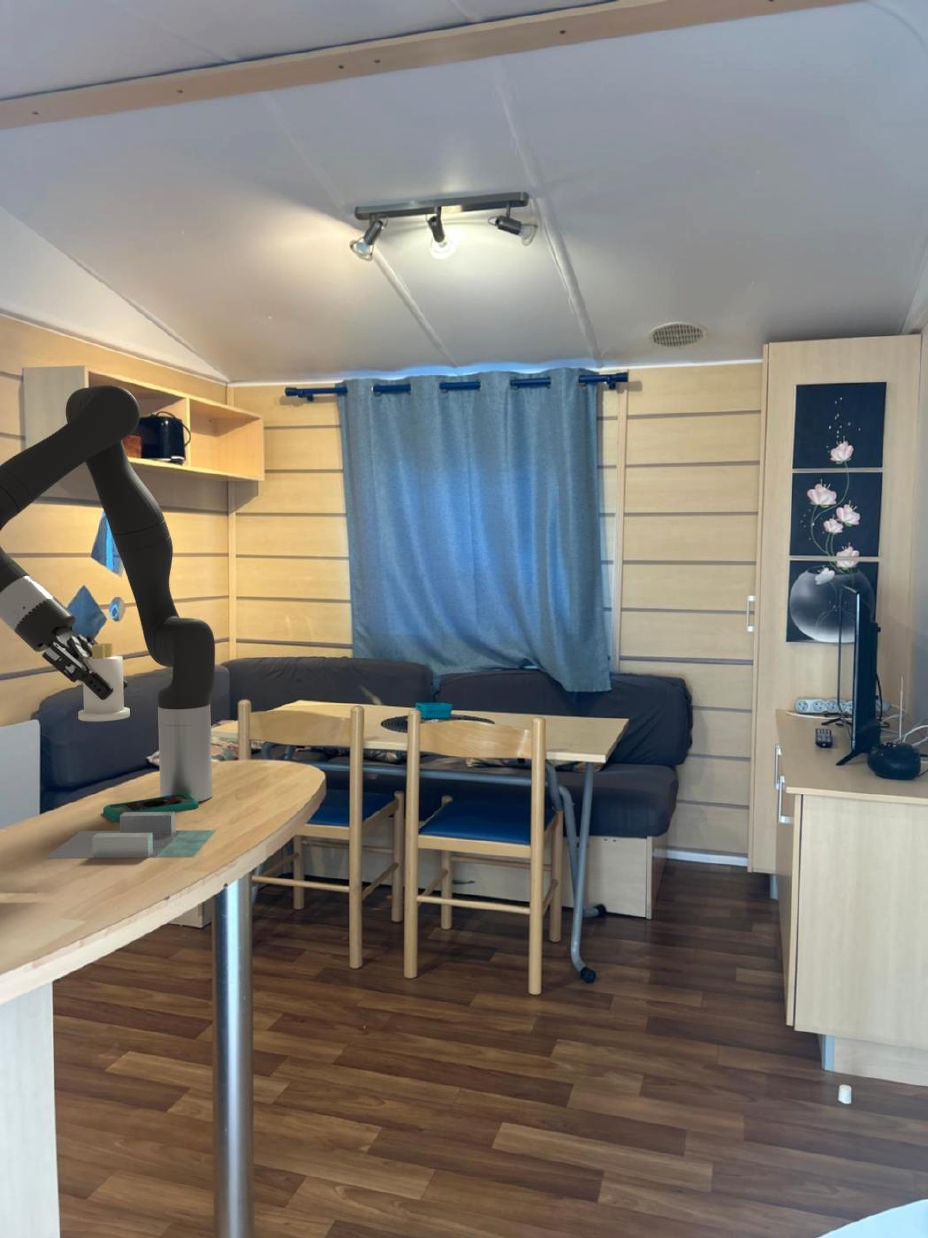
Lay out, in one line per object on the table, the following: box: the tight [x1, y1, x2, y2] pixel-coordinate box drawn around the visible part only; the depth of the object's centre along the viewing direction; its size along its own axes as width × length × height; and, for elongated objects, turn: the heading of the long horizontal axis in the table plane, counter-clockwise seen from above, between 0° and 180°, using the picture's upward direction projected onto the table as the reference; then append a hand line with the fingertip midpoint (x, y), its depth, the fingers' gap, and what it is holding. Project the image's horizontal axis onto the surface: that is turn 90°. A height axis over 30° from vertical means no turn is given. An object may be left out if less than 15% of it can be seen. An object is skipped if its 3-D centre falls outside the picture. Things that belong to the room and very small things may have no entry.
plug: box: [77, 642, 131, 722], centre depth 138 cm, size 7×7×11 cm
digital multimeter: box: [102, 793, 199, 823], centre depth 158 cm, size 7×15×3 cm, turn 127°
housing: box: [44, 812, 217, 859], centre depth 140 cm, size 13×22×4 cm, turn 91°
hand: (116, 692), depth 138 cm, fingers closed on plug, 5 cm apart
